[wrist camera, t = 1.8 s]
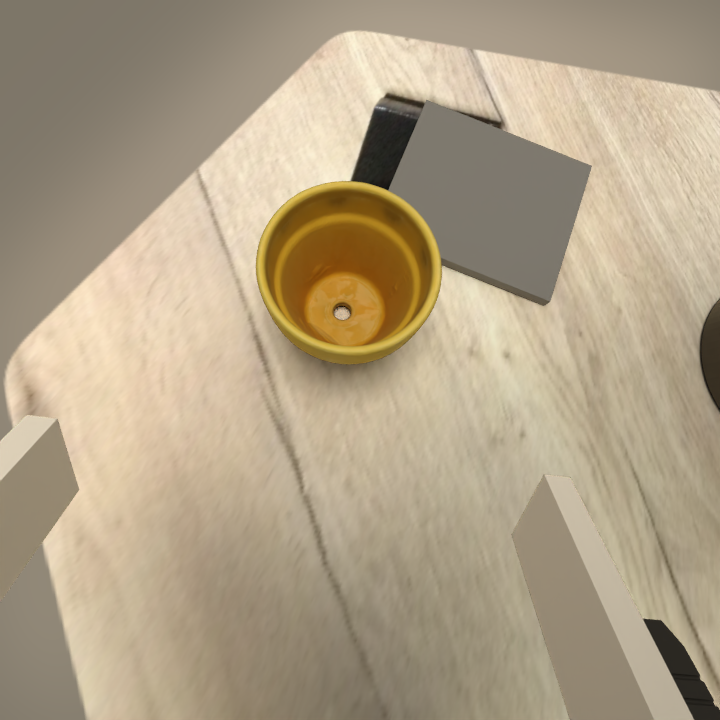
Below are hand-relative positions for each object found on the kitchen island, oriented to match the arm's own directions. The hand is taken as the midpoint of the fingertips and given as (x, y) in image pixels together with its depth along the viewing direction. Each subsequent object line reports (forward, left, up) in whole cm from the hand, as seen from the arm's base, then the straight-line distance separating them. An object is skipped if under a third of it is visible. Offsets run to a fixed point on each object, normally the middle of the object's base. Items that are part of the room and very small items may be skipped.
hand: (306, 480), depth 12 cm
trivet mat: (-5, -24, -19) cm, 31 cm away
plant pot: (+2, -11, -20) cm, 22 cm away
